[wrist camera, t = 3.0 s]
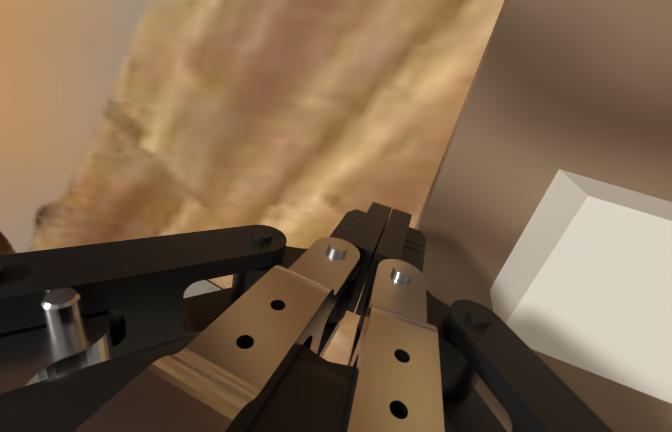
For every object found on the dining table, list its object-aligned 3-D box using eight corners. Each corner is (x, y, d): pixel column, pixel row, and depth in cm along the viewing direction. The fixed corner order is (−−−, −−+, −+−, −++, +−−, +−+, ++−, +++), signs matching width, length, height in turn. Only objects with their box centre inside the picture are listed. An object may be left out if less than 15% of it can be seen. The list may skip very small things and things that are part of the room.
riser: (516, -31, 12) (527, -48, 10) (1146, 93, 9) (1310, 99, 7) (369, 342, 21) (362, 366, 20) (659, 464, 18) (681, 506, 17)
